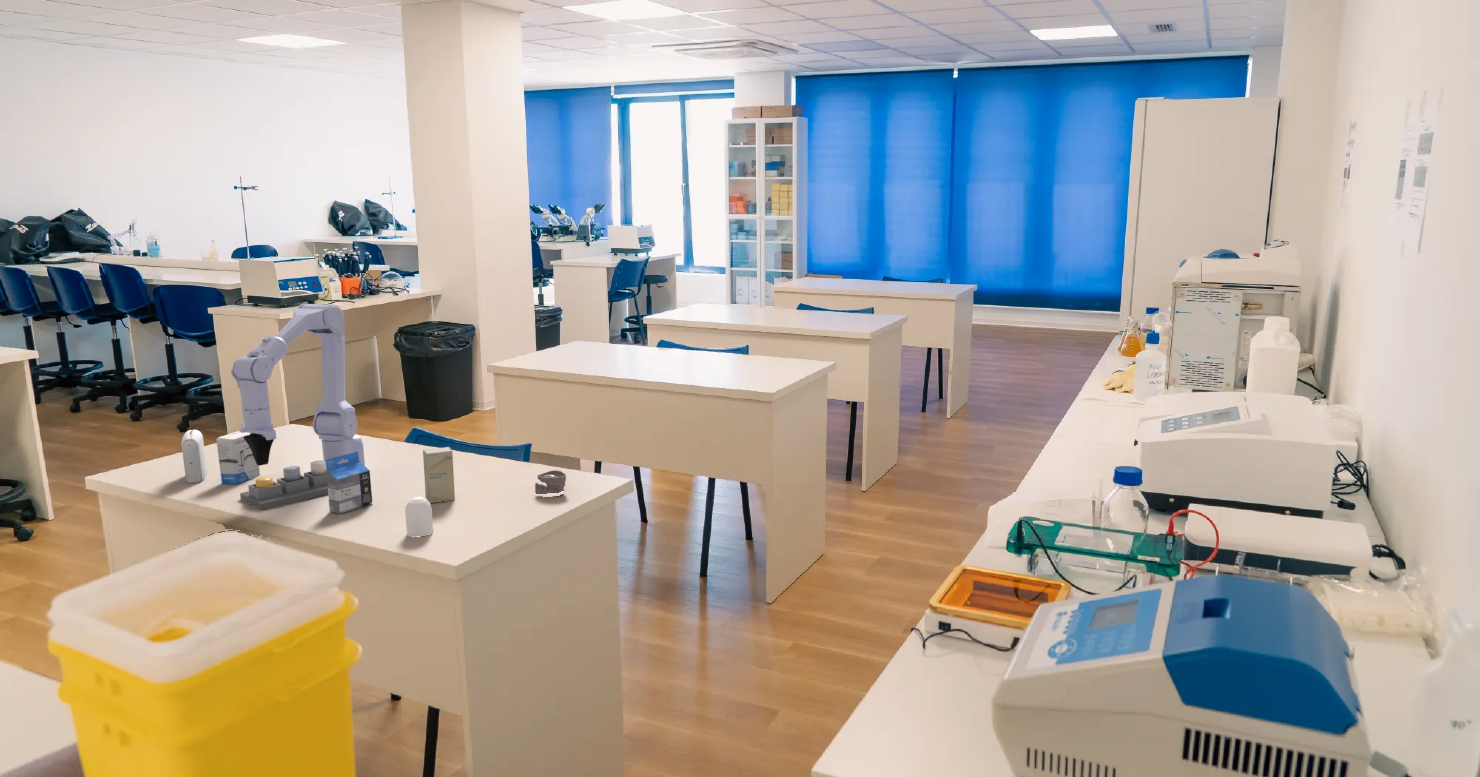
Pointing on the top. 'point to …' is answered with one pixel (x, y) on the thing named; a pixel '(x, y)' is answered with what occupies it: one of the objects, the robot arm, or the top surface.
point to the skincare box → (438, 474)
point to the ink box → (236, 459)
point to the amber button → (264, 482)
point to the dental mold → (551, 482)
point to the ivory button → (318, 468)
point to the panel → (286, 491)
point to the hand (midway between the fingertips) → (262, 464)
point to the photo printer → (194, 456)
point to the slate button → (292, 473)
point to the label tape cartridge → (348, 484)
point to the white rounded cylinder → (418, 517)
